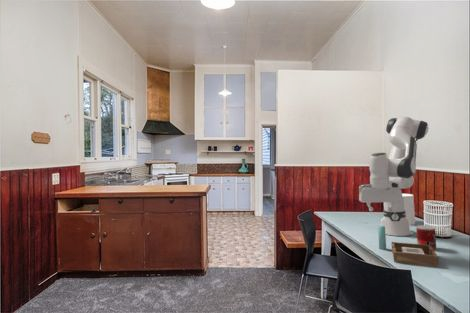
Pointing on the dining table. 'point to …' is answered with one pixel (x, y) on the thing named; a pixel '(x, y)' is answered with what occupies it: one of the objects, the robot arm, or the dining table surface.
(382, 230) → the peg
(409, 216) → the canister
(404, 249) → the plate
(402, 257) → the box
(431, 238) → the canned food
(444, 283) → the dining table surface
